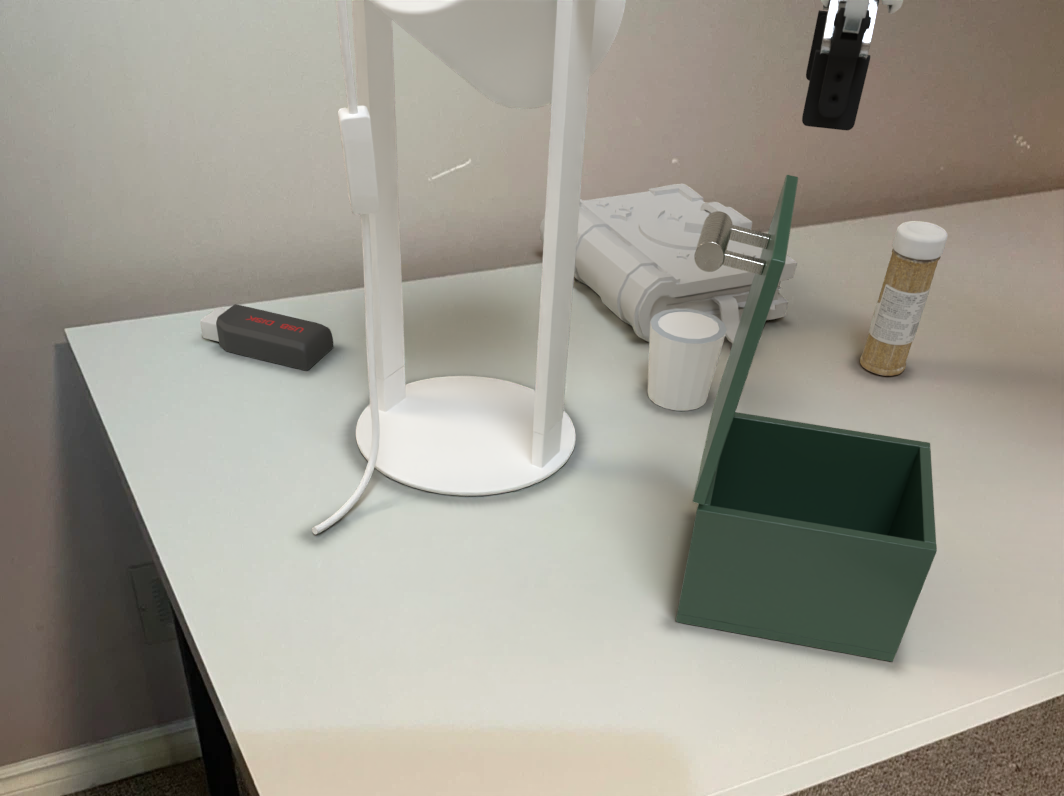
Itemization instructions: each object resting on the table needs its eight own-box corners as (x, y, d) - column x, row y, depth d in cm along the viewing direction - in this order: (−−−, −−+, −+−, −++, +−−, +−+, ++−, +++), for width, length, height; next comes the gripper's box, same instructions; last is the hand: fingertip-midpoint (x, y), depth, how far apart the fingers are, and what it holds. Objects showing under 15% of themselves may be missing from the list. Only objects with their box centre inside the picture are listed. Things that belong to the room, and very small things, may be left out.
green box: (891, 550, 85) (930, 442, 78) (892, 662, 76) (937, 550, 69) (697, 517, 87) (718, 408, 80) (675, 622, 78) (696, 509, 71)
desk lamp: (635, 407, 99) (721, -244, 67) (446, 590, 79) (439, -210, 47) (446, 345, 106) (441, -273, 74) (228, 499, 86) (92, -255, 54)
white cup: (679, 370, 104) (691, 300, 99) (728, 401, 101) (742, 330, 96) (626, 389, 101) (634, 318, 96) (674, 421, 98) (686, 349, 93)
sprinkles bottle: (875, 351, 109) (915, 215, 100) (913, 368, 107) (959, 230, 97) (849, 364, 107) (888, 226, 97) (887, 382, 105) (931, 243, 95)
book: (657, 372, 104) (669, 295, 99) (534, 257, 121) (538, 186, 116) (820, 340, 110) (839, 266, 105) (681, 235, 128) (691, 167, 122)
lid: (798, 176, 68) (722, 157, 68) (785, 262, 59) (697, 239, 59) (724, 404, 80) (659, 387, 80) (703, 505, 71) (630, 485, 71)
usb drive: (308, 371, 101) (305, 343, 99) (197, 344, 104) (192, 317, 102) (334, 347, 105) (331, 320, 103) (227, 322, 107) (222, 295, 105)
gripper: (991, -231, 51) (889, 154, 64) (963, -256, 63) (882, 72, 75) (833, -242, 52) (763, 139, 64) (835, -264, 64) (775, 61, 76)
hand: (827, 103), depth 70 cm, fingers open, 9 cm apart
